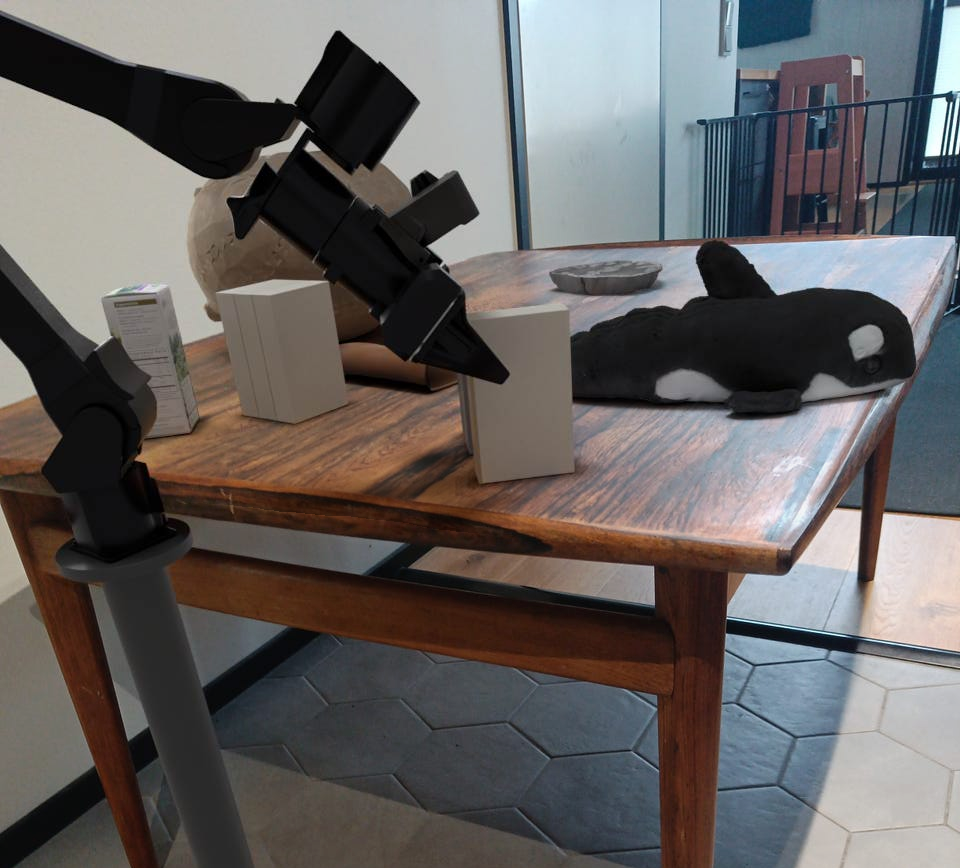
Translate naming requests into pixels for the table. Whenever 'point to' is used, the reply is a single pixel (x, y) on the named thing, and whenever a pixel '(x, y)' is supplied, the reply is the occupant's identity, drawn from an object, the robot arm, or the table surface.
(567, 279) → the grey stone slab
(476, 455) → the book
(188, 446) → the table surface
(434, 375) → the sunglasses case
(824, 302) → the orca plush
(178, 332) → the syrup box
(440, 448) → the table surface
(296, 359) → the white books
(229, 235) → the ceramic pot
